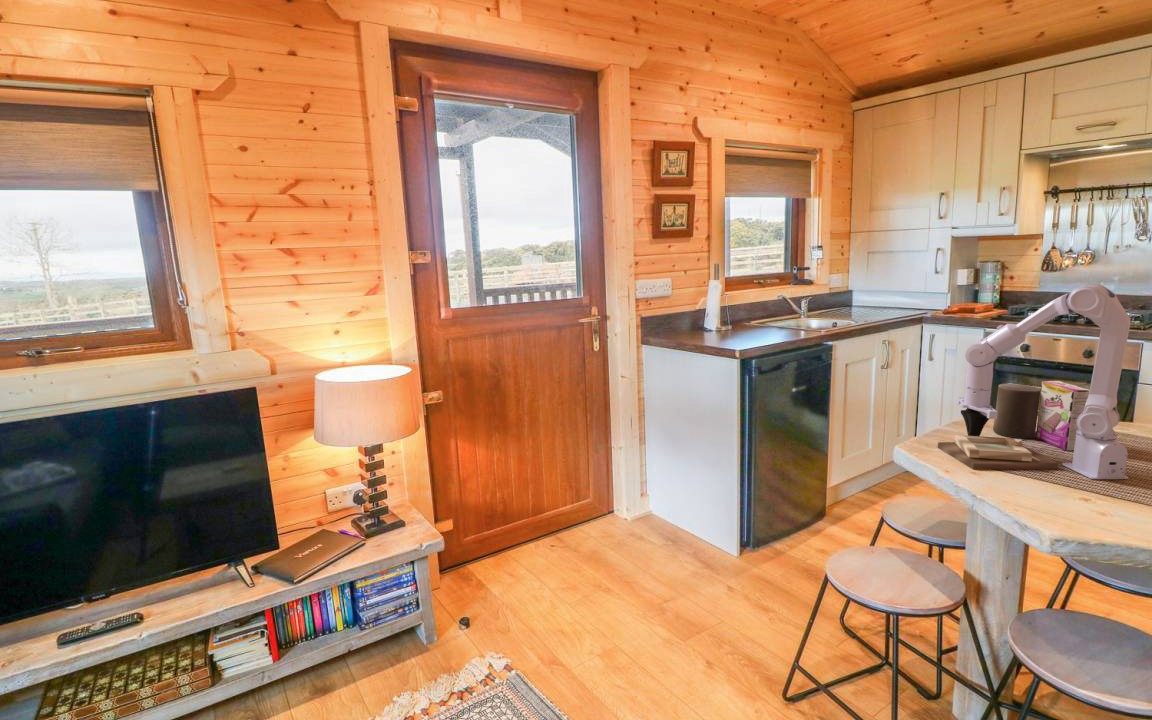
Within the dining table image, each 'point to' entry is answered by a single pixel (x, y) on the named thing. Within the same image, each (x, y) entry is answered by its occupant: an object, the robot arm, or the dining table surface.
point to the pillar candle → (1017, 410)
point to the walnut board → (985, 463)
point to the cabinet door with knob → (993, 448)
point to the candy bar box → (1060, 413)
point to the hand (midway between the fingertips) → (973, 437)
